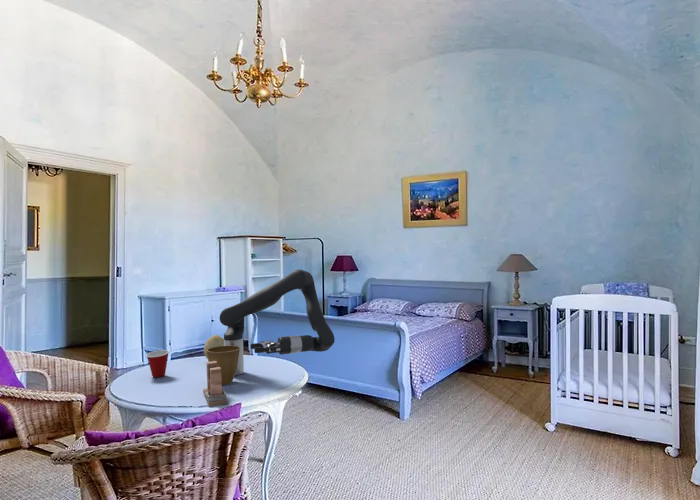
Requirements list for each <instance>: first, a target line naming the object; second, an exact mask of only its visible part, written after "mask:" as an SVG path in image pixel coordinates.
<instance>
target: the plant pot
mask: <svg viewBox="0 0 700 500" xmlns="http://www.w3.org/2000/svg"><path fill="white" fill-rule="evenodd" d="M239 351H240V347H238V346H217V347H212V348H208V349H207V356H208V359H207V362H212V361H216V362H217V367H220V368H221V380H222V386H225V385H227V386H228V385H231V384H232V383H233V381H234V378H235V376H236V375H235V372H236V368H237V363H238V358H239Z"/></svg>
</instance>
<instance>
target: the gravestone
mask: <svg viewBox="0 0 700 500" xmlns="http://www.w3.org/2000/svg"><path fill="white" fill-rule="evenodd" d="M216 367H217V362H216V361H212V362H209V361H206V388H203V389H202V392H203V395H204V398H205V401H206V403H207V406H208V408H209V407H216V406H222V405H227V404H228V400H227V393H226V391H225V389H222V394H221V395H214V396H211V391H210V368H216Z"/></svg>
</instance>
